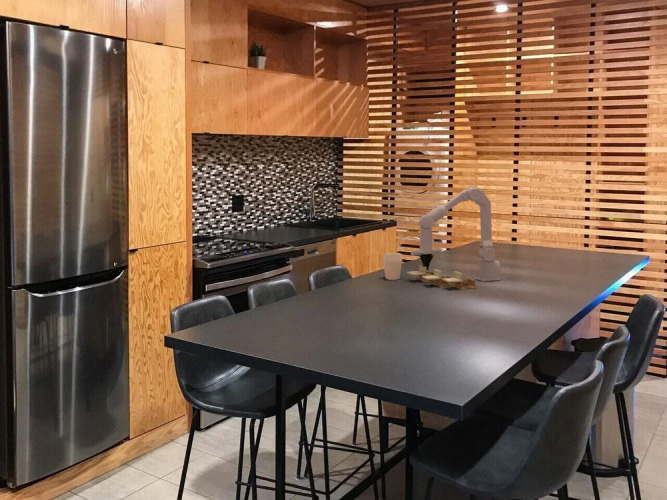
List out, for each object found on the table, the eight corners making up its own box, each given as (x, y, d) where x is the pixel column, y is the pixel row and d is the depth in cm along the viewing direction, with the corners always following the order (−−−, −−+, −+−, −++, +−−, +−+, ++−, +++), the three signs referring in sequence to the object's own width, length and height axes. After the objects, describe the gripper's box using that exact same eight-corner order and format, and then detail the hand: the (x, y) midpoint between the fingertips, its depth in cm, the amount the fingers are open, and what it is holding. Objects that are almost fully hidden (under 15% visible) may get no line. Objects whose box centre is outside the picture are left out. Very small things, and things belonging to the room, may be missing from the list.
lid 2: (435, 276, 306) (435, 269, 305) (442, 278, 299) (442, 271, 299) (421, 277, 304) (421, 269, 303) (427, 279, 297) (427, 272, 297)
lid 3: (456, 278, 298) (456, 271, 298) (463, 281, 292) (463, 273, 292) (442, 279, 297) (442, 272, 296) (448, 282, 290) (448, 274, 290)
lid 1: (420, 272, 318) (420, 265, 317) (426, 274, 311) (426, 267, 311) (407, 273, 316) (407, 265, 315) (412, 275, 309) (412, 268, 309)
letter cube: (428, 279, 317) (428, 273, 317) (432, 280, 315) (432, 274, 314) (423, 280, 316) (423, 274, 316) (427, 281, 313) (427, 275, 313)
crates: (447, 277, 321) (447, 270, 321) (475, 288, 294) (475, 280, 293) (418, 279, 318) (418, 272, 317) (443, 290, 290) (443, 283, 290)
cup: (401, 280, 316) (400, 255, 314) (382, 280, 318) (381, 255, 316) (403, 277, 325) (402, 252, 323) (384, 276, 327) (384, 252, 325)
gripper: (437, 239, 318) (436, 267, 320) (408, 241, 315) (408, 269, 316) (443, 241, 311) (443, 270, 313) (413, 242, 308) (414, 272, 310)
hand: (426, 270), depth 314 cm, fingers closed
